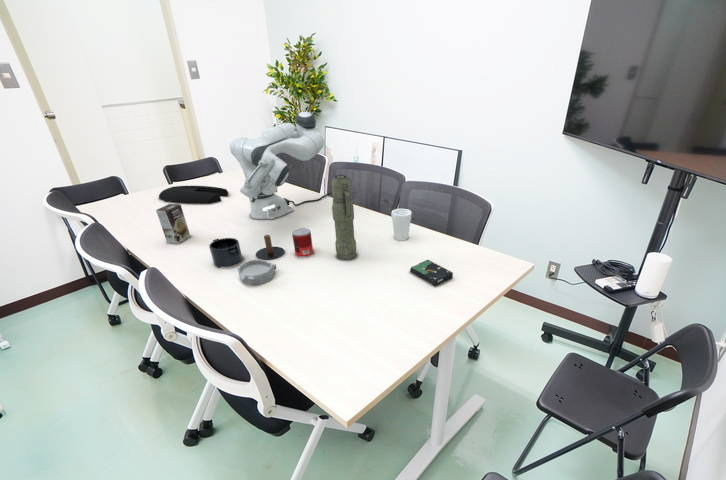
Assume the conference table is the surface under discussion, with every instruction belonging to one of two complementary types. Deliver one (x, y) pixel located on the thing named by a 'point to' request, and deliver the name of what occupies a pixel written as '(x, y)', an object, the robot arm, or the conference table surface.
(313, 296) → the conference table surface
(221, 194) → the black flat oval slab
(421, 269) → the disk drive
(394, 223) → the foam cup
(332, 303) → the conference table surface
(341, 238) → the thermos
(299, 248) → the canned food
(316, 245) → the conference table surface
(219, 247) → the pot
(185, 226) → the coffee box
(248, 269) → the dish
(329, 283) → the conference table surface
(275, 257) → the lid
